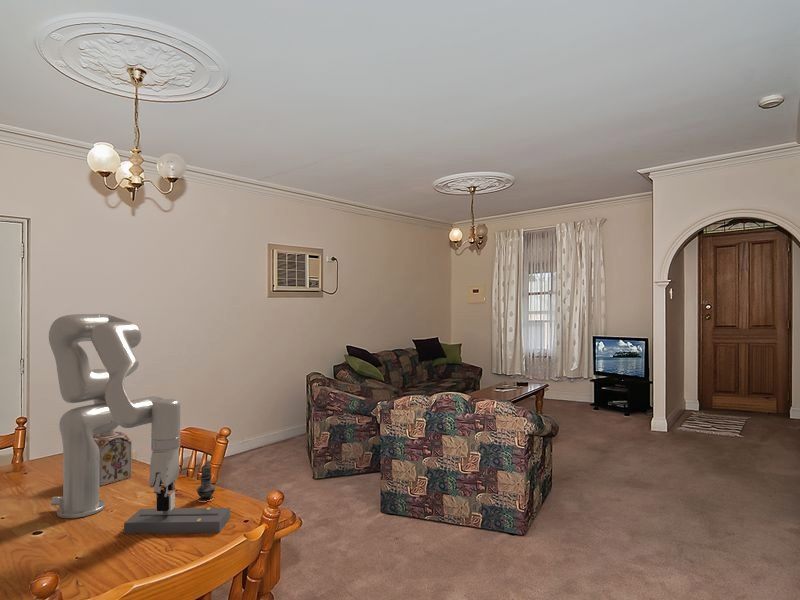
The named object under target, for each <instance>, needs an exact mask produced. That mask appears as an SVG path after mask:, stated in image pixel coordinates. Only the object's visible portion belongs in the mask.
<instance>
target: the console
mask: <svg viewBox="0 0 800 600" xmlns="http://www.w3.org/2000/svg"><path fill="white" fill-rule="evenodd" d="M230 518H231V507H181V508H180V507H179V508H178V507H174V508H173V509H172V510H171V511H169V513H168V514H167V515H163V511H156V508H140V509H139V510H138V511H137V512H135V513H134V514H132V516H131V517H129V518H128V519H126V521H124V522H123V534H124V535H132V534H134V533H154V534H206V533H208V534H210V533H211V534H215V533H217V534H218V533H221V531H223V528H224V527H225V526H226V524H227V523H228V522H229V520H231V519H230ZM128 533H129V534H128ZM134 535H135V534H134Z"/></svg>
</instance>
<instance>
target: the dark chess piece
mask: <svg viewBox="0 0 800 600" xmlns="http://www.w3.org/2000/svg"><path fill="white" fill-rule="evenodd" d="M200 470H201V472H200V473H201V476H200V477H199V478H200V486H199V487H197V488H196V492H197V495H198V496H199V497H198V498H197V500H199V501H207V500H210V499H212V498H213V497H214V496H213V495H214V493H215V489H216V486H215V485H212V478H213V476H212V473H211V472H212V468H211V465H209V464H208V462H205V463H204V465H203V466H201V469H200Z"/></svg>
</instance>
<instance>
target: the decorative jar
mask: <svg viewBox="0 0 800 600" xmlns="http://www.w3.org/2000/svg"><path fill="white" fill-rule="evenodd" d="M115 429H116V428H115ZM115 429H114V430H112V431H109V432H105V433H101V434H98V435H95V436H93V439H94V441H95V442H96V444H97V445H98V447H99V453H100V479H99V487H103V485H104V486H106V484H107V485H110V484H113V483H116V481H117V482H120V481H123V479H124V480H127V479H130V477H131V478H132V475H133V473H132V469H133V465H132V464H133V461H132V460H133V457H132V456H133V455H132V454H133V453H132V451H133V450H132V449H133V448H132V442H133V441H132V440H131V439H130V437H129V436H128V434H127V433H125V432H122V431H116V430H115ZM126 478H127V479H126ZM119 480H120V481H119ZM112 482H113V483H112ZM109 483H110V484H109Z"/></svg>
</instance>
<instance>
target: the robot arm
mask: <svg viewBox="0 0 800 600" xmlns="http://www.w3.org/2000/svg"><path fill="white" fill-rule="evenodd" d="M141 340H142V332H141V330H140V328H139V327H138V325H137V324H135V323H134V322H132V321H130V320H127V319H123V318H120V317H117V316H113V315H111V314H108V313H107V314H105V313H75V314H65V315H62V316H59V317H58V318H56V319H55V320H54V321H53V322H52V323H51V325H50V327H49V332H48V344H49V345H50V348H51V352H52V353H53V357H54V360H55V364H56V365H55V367H56V371H57V372H56V373H57V378H58V385H59V391H60V395H61V399H62V400H63V401H64V402H65V403H68V404H77V403H84V402H88V401H93V404H88V405H82V406H78V407H75V408H71V409H70V410H67V411H66V412H64V413H63V414H62V416H61V417H60V419H59V424H58V427H59V430H60V431H59V432H60V436H61V441H62V451H63V452H62V454H63V455H62V458H63V459H62V460H63V461H62V463H63V465H62V467H63V470H62V473H63V476H62V477H63V480H62V487H63V489H62V490H63V491H62V494H63V495H62V496H52V497H51V500H50V505H51V506H59V508H58V509H57V510H56V516H57V517H59V518H63V519H77V518H82V517H87V516H91V515H94V514H96V513H99V512H101V511H102V510H104V508H105V507H106V502H105V501H104V500H102V499H100V486H99V479H100V453H99V447H98V445H97V444H96V442H95V441H94V439H93V436H95V435H98V434H101V433H105V432H109V431H112V430H114V429H117V428H118V426H120V427H121V428H123V429H131V428H135V427H139V426H143V425H148V424H151V425H150V426H151V428H150V429H151V433H150V434H151V435H150V438H151V440H150V441H151V448H150V450H151V457H150V462H149V463H150V464H149V466H150V467H149V476H148V477H149V481H148V482H149V483H148V486H149V487H150V488H154V489H153V493H154V494H155V496H156V497H157V511H168V510H169V496H168V490H175V489H176V487H175V486H176V485H175V484H176V480H177V479H178V478H179V475H180V452H179V450H180V448H181V403H180V401H179V400H178V399H175V398H174V399H173V398H168V399H167V398H162V397H160V396H153V395H152V396H147V397H143V398H137V399H132V400H130V398H129V397H128V394H127V392H126V390H125V379H126V378H127V377H128V376H130V375H131V374H133V373H134V372H135V371H137V369H138V367H139V365H140V364H139V361H138V359H137V357H136V355H135V352H134V351H133V348H136V347H137V346H138V345H139V344H140V343H141ZM80 342H91V343H92V345H93V347H94V349H95V351H96V352H97V355H98V357H99V359H100V361H101V363H102V364H103V366H104V368H96V369H91V367H90V363H89V356H88V354H87V352H86V351H85V349H84V348H83V347H82V346H81V345H80V344H78V343H80ZM175 491H176V490H175Z"/></svg>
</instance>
